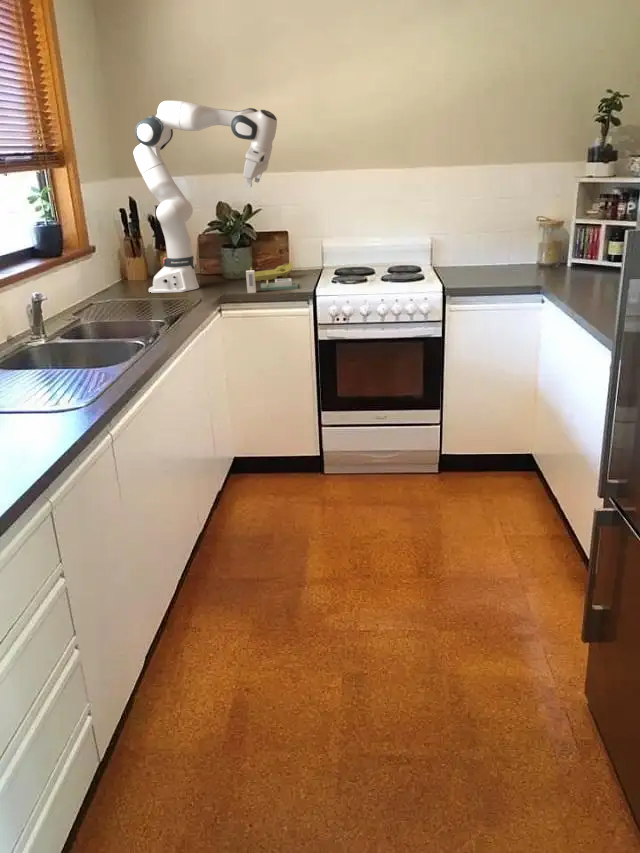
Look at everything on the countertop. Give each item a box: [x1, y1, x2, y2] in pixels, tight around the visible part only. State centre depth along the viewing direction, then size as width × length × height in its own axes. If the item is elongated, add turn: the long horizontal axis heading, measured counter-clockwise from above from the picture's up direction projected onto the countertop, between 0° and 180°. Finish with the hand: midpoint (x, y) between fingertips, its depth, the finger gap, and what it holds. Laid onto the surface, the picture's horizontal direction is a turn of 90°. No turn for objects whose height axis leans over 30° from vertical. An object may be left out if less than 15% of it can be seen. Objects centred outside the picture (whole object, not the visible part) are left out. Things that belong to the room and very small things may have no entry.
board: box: [260, 277, 299, 292], centre depth 323 cm, size 16×12×3 cm
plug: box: [245, 269, 257, 294], centre depth 314 cm, size 4×4×9 cm
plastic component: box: [249, 261, 293, 282], centre depth 346 cm, size 20×7×10 cm
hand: (252, 184), depth 312 cm, fingers open, 8 cm apart
